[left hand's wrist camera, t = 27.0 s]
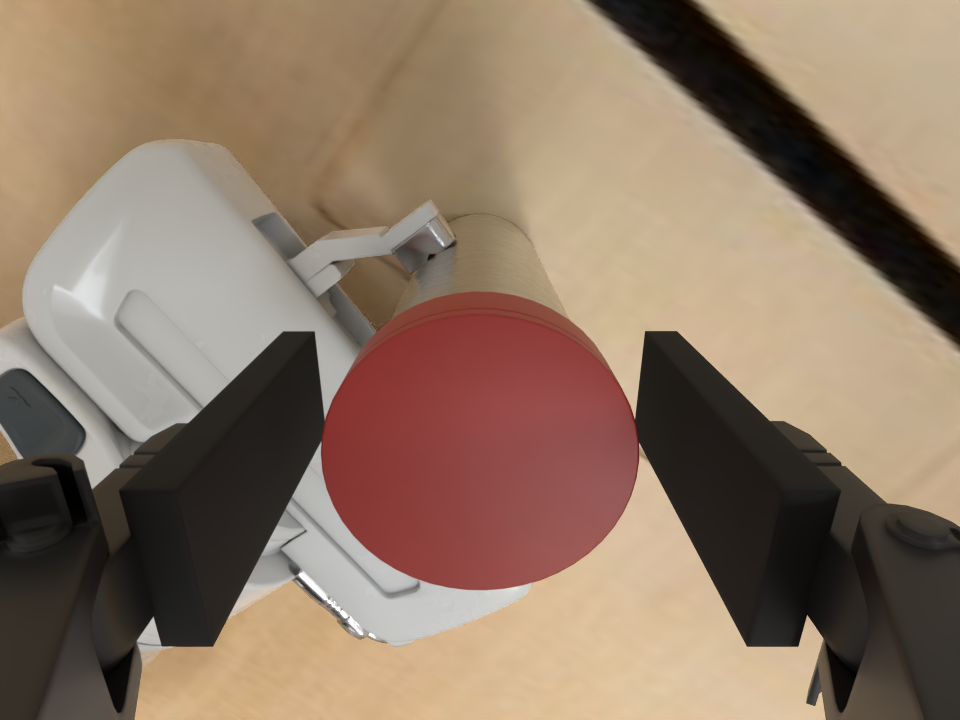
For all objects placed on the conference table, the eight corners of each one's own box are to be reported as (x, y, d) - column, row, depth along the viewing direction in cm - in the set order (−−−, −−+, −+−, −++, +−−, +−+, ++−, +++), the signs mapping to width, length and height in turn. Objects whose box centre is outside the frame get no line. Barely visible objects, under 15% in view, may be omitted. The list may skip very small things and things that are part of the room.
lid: (613, 536, 13) (631, 586, 11) (357, 544, 13) (342, 596, 11) (627, 284, 11) (650, 307, 9) (321, 296, 11) (296, 321, 9)
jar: (427, 333, 26) (368, 552, 12) (414, 218, 24) (327, 322, 10) (540, 325, 26) (610, 538, 12) (536, 209, 24) (613, 302, 10)
